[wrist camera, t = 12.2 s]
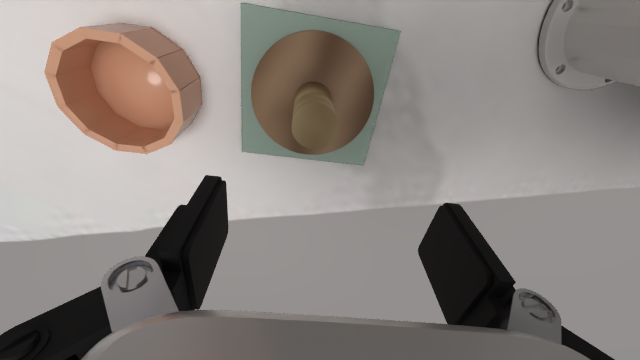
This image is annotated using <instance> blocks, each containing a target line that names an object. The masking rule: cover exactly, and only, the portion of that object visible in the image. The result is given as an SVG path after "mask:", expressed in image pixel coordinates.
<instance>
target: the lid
mask: <svg viewBox="0 0 640 360" xmlns="http://www.w3.org/2000/svg"><path fill="white" fill-rule="evenodd" d="M251 101H252V106H253V110H254V113H255V116H256V118H257V120H258V122H259V124H260V126H261V127H262V129H263V130H264V131H265V133H266V134H267V135H268V136H269V137H270V138H271V139H272V140H273V141H275V142H276V143H277V144H279V145H280V146H282V147H284V148H286V149H288V150H290V151H293V152H296V153H300V154H306V155H319V154H325V153H329V152H333V151H335V150H338V149H340V148H342V147H343V146H345V145H347V144H348V143H350V142H351V141H352V140H353V139H354V138H355V137H356V136H357V135H358V134H359V133H360V132H361V131H362V129H363V128H364V126H365V125H366V123H367V121H368V119H369V117H370V114H371V111H372V107H373V102H374V84H373V79H372V75H371V72H370V69H369V67H368V65H367V63H366V61H365V60H364V58H363V57H362V55H361V54H360V53H359V52H358V51H357V50H356V48H355V47H354V46H352V45H351V44H350V43H349V42H347V41H346V40H344V39H343V38H341V37H339V36H337V35H335V34H332V33H329V32H325V31H318V30H305V31H300V32H295V33H293V34H290V35H287V36H286V37H284V38H282V39H280V40H279V41H277V42H276V43H275V44H273V45H272V46H271V47H270V48H269V49H268V50H267V51H266V53H265V54H264V55H263V57H262V58H261V60H260V61H259V63H258V65H257V67H256V70H255V72H254V75H253V80H252V85H251Z"/></svg>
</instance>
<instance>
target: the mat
mask: <svg viewBox="0 0 640 360" xmlns="http://www.w3.org/2000/svg"><path fill="white" fill-rule="evenodd" d="M305 30H318V31H325V32H329V33H332V34H335V35H337V36H339V37H341V38H343V39H344V40H346V41H347V42H349V43H350V44H351V45H352V46H354V47H355V48H356V50H357V51H358V52H359V53H360V54H361V55H362V57H363V58H364V60H365V61H366V63H367V65H368V67H369V69H370V72H371V75H372V79H373V84H374V102H373V107H372V111H371V114H370V117H369V119H368V121H367V123H366V125H365V126H364V128H363V129H362V131H361V132H360V133H359V134H358V135H357V136H356V137H355V138H354V139H353V140H352V141H351V142H350V143H348V144H347V145H345V146H343V147H342V148H340V149H338V150H335V151H333V152H329V153H325V154H319V155H306V154H300V153H296V152H293V151H290V150H288V149H286V148H284V147H282V146H280V145H279V144H277V143H276V142H275V141H273V140H272V139H271V138H270V137H269V136H268V135H267V134H266V133H265V131H264V130H263V129H262V127H261V126H260V124H259V122H258V120H257V118H256V116H255V113H254V110H253V106H252V101H251V85H252V80H253V75H254V72H255V70H256V67H257V65H258V63H259V61H260V60H261V58H262V57H263V55H264V54H265V53H266V51H267V50H268V49H269V48H270V47H271V46H272V45H273V44H275V43H276V42H277V41H279V40H280V39H282V38H284V37H286V36H287V35H290V34H293V33H295V32H300V31H305ZM400 32H401V31H397V30H391V29H386V28H380V27H375V26H369V25H363V24H358V23H352V22H347V21H341V20H335V19H330V18H324V17H318V16H313V15H307V14H302V13H296V12H290V11H285V10H279V9H274V8H268V7H262V6H257V5H251V4H245V3H241V107H242V152H249V153H258V154H267V155H275V156H284V157H293V158H302V159H310V160H319V161H328V162H337V163H346V164H354V165H364V161H365V158H366V154H367V151H368V147H369V143H370V140H371V136H372V133H373V129H374V125H375V122H376V118H377V115H378V111H379V107H380V104H381V100H382V97H383V93H384V89H385V86H386V82H387V79H388V75H389V71H390V68H391V64H392V61H393V57H394V54H395V50H396V46H397V43H398V39H399V36H400Z"/></svg>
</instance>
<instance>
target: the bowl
mask: <svg viewBox="0 0 640 360" xmlns="http://www.w3.org/2000/svg"><path fill="white" fill-rule="evenodd" d="M45 75H46V78H47V81H48V83H49V86H50V88H51V91H52V94H53V96H54V99H55V101H56V104H57V106H58V107H59V108H60V109H61V111H62V112H63V113H64V114H65V115H66V116H67V117H68V118H69V119H70V120H71V121H72V122H73V123H74V124H75V125H76V126H77V127H78V128H79V129H80V130H81V131H82V132H83V133H85V135H87V136H89V137H91V138H93V139H95V140H97V141H99V142H101V143H103V144H105V145H106V146H108V147H110V148H112V149H114V150H117V151H125V152H135V153H144V154H148V153H150V152H153V151H155V150H158V149H160V148H163V147H165V146H167V145H170V144H172V142H173V141H174V140H175V139H176V138H177V137H178V136H179V135H180V134H181V133H182V132H183V131H184V130H185V129H186V128H187V127H188V126H189V125H190V124H191V123H192V121H193V119H194V117H195V116H196V114H197V112H198V110H199V109H200V107H201V105H202V95H201V84H200V76H199V75H198V73H197V71H196V70H195V68H194V67H193V65H192V63H191V62H190V60H189V58H188V57H187V55H186V54H185V52H184V50H183V49H182V48H181V47H179V46H178V45H176V44H175V43H174V42H172V41H171V40H169V39H168V38H167V37H165V36H164V35H162V34H161V33H160V32H158V31H157V30H155V29H154V28H149V27H143V26H137V25H131V24H125V23H116V24H106V25H97V26H87V27H80V28H78V29H76V30H74V31H72V32H70V33H68V34H67V35H65V36H63V37H61V38H59V39H57V40H55V41H53V42H52V44H51V48H50V52H49V56H48V60H47V64H46V68H45Z"/></svg>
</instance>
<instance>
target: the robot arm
mask: <svg viewBox="0 0 640 360" xmlns="http://www.w3.org/2000/svg"><path fill="white" fill-rule="evenodd" d="M539 58H540V63H541V66H542V68H543V70H544V73H545V74H546V75H547V76H548V77H549V78H550V80H552V81H554V82H555V83H557V84H558V85H561V86H564V87H567V88H571V89H577V90H588V89H595V88H599V87H604V86H606V85H609V84H612V83H614V82H621V83H625V84H629V85H633V86H637V87H640V0H554V1H553V3H552V4H551V6H550V8H549V10H548V13H547V15H546V18H545V20H544V23H543V26H542V30H541V34H540V38H539ZM227 234H228V213H227V193H226V181H222V179H221V177H218V176H209V175H206V176H205V177H204V179H203V180H202V182H201V183H200V185H199V187H198V188H197V190H196V191H195V193H194V195H193V196H192V198H191V199H190V201H189V203H188V204H187V205H180V206H178V208H177V209H176V210H175V212H174V213H173V215H172V216H171V218H170V219H169V221H168V222H167V224H166V225H165V227H164V228H163V230H162V231H161V233H160V234H159V236H158V237H157V239H156V240H155V242H154V243H153V245H152V246H151V248H150V249H149V251H148V253H147V254H146V256H145V257H142V256H141V257H133V258H129V259H126V260H123V261H121V262H119V263H117V264H116V265H114V266H113V267H112V268H110V269H109V270H108V271H107V273H106V274H105V275H104V277H103V279H102V281H101V287H99V288H97V289H95V290H92V291H90V292H88V293H86V294H84V295H82V296H80V297H77V298H75V299H73V300H71V301H69V302H67V303H64V304H63V305H60V306H58V307H56V308H54V309H52V310H50V311H47V312H45V313H43V314H41V315H39V316H37V317H35V318H32V319H30V320H28V321H26V322H24V323H22V324H19V325H17V326H15V327H13V328H12V329H10V330H8V331H6V332H5V333H3V334H2V335H0V360H614V359H613V358H611V357H610V356H608V355H607V354H605V353H603V352H602V351H600V350H599V349H597V348H596V347H594V346H592V345H591V344H589V343H588V342H586V341H585V340H583V339H581V338H580V337H578V336H577V335H575V334H574V333H572V332H571V331H569V330H568V329H566V328H564V327H563V326H561V318H560V315H559V313H558V312H557V310H556V309H555V307H554V306H553V305H552V304H551V303H550V302H549V301H548V300H546V299H545V298H544V297H542V296H541V295H539V294H538V293H536V292H534V291H531V290H528V289H517V290H515V289H514V287H513V285H514V284H515V281H514V280H513V278H512V276H511V275H510V274H509V272H508V271H507V269H506V268H505V267H504V265H503V264H502V262H501V261H500V260H499V258H498V257H497V255H496V254H495V253H494V251H493V250H492V248H491V247H490V246H489V244H488V243H487V242H486V240H485V239H484V237H483V236H482V235H481V233H480V232H479V230H478V229H477V228H476V226H475V225H474V223H473V222H472V221H471V219H470V218H469V216H468V215H467V214H466V212H465V211H464V210H463V208H462V207H461V206H460V205H459V204H452V203H445V204H443V206H440V207H439V209H438V210H437V212H436V214H435V216H434V218H433V220H432V222H431V224H430V226H429V228H428V230H427V232H426V234H425V236H424V238H423V240H422V242H421V244H420V245H419V248H418V252H419V256H420V259H421V261H422V264H423V266H424V268H425V271H426V273H427V276H428V278H429V280H430V283H431V285H432V288H433V290H434V293H435V295H436V298H437V300H438V302H439V305H440V307H441V309H442V312H443V314H444V317H445V319H446V322H447V324H435V323H422V322H408V321H394V320H379V319H364V318H349V317H334V316H320V315H303V314H288V313H287V314H286V313H272V312H251V311H230V310H195V309H200V307H201V305H202V302H203V299H204V296H205V294H206V291H207V288H208V286H209V283H210V280H211V278H212V275H213V272H214V270H215V267H216V264H217V262H218V259H219V256H220V254H221V251H222V248H223V246H224V243H225V240H226V237H227Z"/></svg>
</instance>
